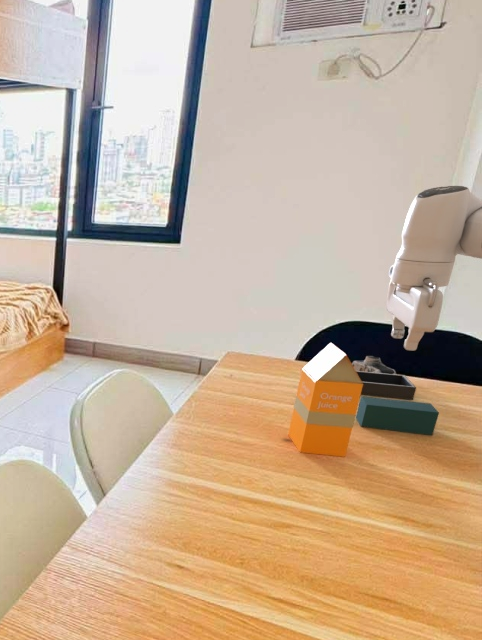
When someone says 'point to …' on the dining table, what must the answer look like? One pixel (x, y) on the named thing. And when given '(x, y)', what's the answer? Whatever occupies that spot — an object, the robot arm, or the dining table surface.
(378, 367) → the grey shoe
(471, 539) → the dining table surface
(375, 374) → the dark grey tray
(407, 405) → the dark teal block
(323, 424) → the orange juice
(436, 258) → the robot arm
